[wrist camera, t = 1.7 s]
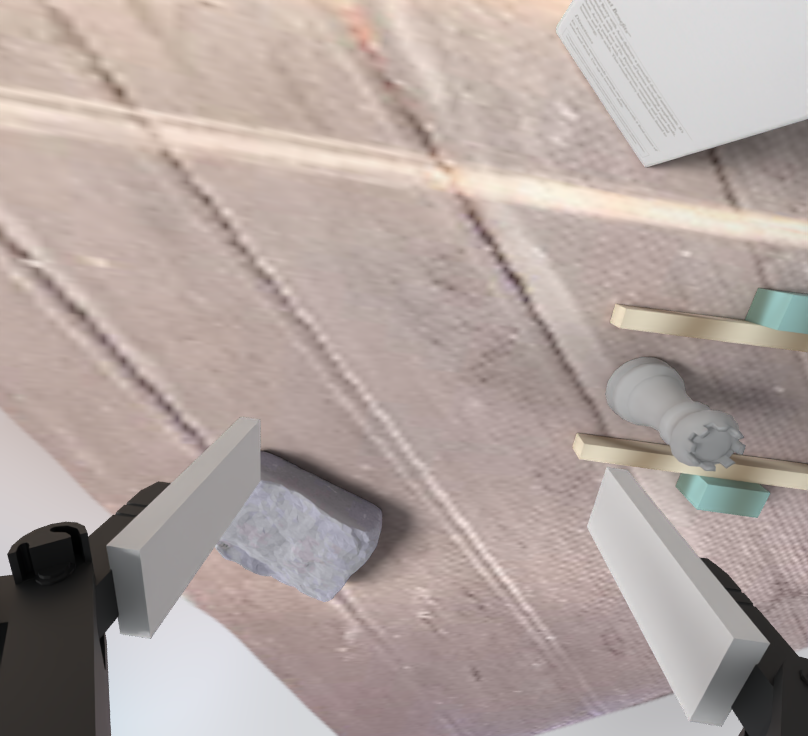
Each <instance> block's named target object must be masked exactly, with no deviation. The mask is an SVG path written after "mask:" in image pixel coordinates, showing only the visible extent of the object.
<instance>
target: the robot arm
mask: <svg viewBox="0 0 808 736" xmlns="http://www.w3.org/2000/svg"><path fill="white" fill-rule="evenodd" d="M260 481H261V479H260V419H254V418H247V417H240V418H239V419H238V420H237V421H236V422H235V423H234V424H233V425H231V426H230V427H229V428H228V429H227V430H226V431H225V432H224V433H223V434H222V435H221V436H220V437H219V438H218V439H217V440H216V441H215V442H214V443H213V444H212V445H211V446H210V447H209V448H207V449H206V450H205V451H204V452H203V453H202V454H201V455H200V456H199V457H198V458H197V459H196V460H195V461H194V462H193V463H192V464H191V465H190V466H189V467H188V468H187V469H186V470H185V471H183V472H182V473H181V474H180V475H179V476H178V477H177V478H176V479H175V480H174V481H173V482H172V483H166V482H157V483H155V484H153V485H151V486H149V487H147V488H145V489H143V490H141V491H140V492H139V493H137V494H136V495H135V496H134V497H133V498H132V499H131V500H130V501H128V502H127V505H124V506H123V507H122V508H120V509H119V510H118V511H117V512H116V514H115V515H113V516H111V517H110V518H109V519H108V520H107V521H106V522H105V523H103V524H102V525H101V526H100V527H99V528H98V529H97V530H96V531H94V532H93V533H92V534H91V535H90V536H89V537H88V533H87V530H86V529H85V526H83V525H81V524H78V523H75V522H61V523H56V524H50V525H47V526H44V527H41V528H39V529H36V530H34V531H32V532H30V533H29V534H27V535H25V536H23V537H22V538H20V539H19V540H18V541H17V542H16V543H15V544H13V545H12V547H11V549H10V550H9V552H8V554H7V555H8V559H9V563H10V566H11V570H12V574H13V575H7V576H0V736H111V726H110V704H109V683H108V664H107V663H108V662H107V641H106V635H105V632H106V631H107V629H108V628H109V627H110V626H111V625H112V623H113V622H114V621H115V620H116V618H117V617H118V622H119V628H120V634H123V635H129V636H135V637H142V638H149V639H151V638H152V636H153V634H154V633H155V632H156V630H157V629H158V627H159V626H160V625H161V623H162V622H163V620H164V619H165V617H166V616H167V615H168V613H169V612H170V610H171V608H172V607H173V606H174V605H175V603H176V601H177V600H178V599H179V597H180V596H181V594H182V593H183V592H184V590H185V589H186V587H187V586H188V584H189V583H190V581H191V580H192V579H193V577H194V576H195V574H196V573H197V571H198V570H199V569H200V567H201V566H202V564H203V563H204V561H205V560H206V558H207V557H208V556H209V554H210V553H211V551H212V550H213V548H214V547H215V545H216V544H217V543H218V541H219V540H220V538H221V537H222V535H223V534H224V533H225V531H226V530H227V528H228V527H229V525H230V524H231V522H232V521H233V520H234V518H235V517H236V515H237V514H238V512H239V511H240V509H241V508H242V507H243V505H244V504H245V502H246V501H247V499H248V498H249V497H250V495H251V494H252V492H253V491H254V489H255V488H256V486H257V485H258V484H259V482H260ZM587 528H588V530H589V532H590V534H591V535H592V537H593V539H594V541H595V543H596V545H597V547H598V549H599V551H600V553H601V555H602V556H603V558H604V560H605V562H606V564H607V566H608V568H609V570H610V572H611V574H612V575H613V577H614V579H615V581H616V583H617V585H618V587H619V589H620V591H621V593H622V595H623V596H624V598H625V600H626V602H627V604H628V606H629V608H630V610H631V612H632V614H633V615H634V617H635V619H636V621H637V623H638V625H639V627H640V629H641V631H642V633H643V635H644V636H645V638H646V640H647V642H648V644H649V646H650V648H651V650H652V652H653V654H654V655H655V657H656V659H657V661H658V663H659V665H660V667H661V669H662V671H663V673H664V674H665V676H666V678H667V680H668V682H669V684H670V686H671V688H672V690H673V692H674V694H675V695H676V697H677V699H678V701H679V703H680V705H681V707H682V709H683V710H684V713H685V714H686V716H687V718H688V720H689V721H690V722H696V723H703V724H709V725H716V726H722V725H723V724H724V722H725V720H726V718H727V717H728V715H729V713H730V712H731V710H733V711H734V713H735V714H736V716H737V717H738V719H739V720H740V722H741V723H742V725H743V729H742V731H741V732H740V734H739V736H808V659H807V658H803V657H799V656H798V655H797V654H796V653H795V652H794V650H793V649H792V648H791V647H790V646H789V645H788V643H787V642H786V641H785V640H784V639H783V638H782V636H781V635H780V634H779V633H778V632H777V631H776V630H775V628H774V627H773V626H772V625H771V624H770V623H769V621H768V620H767V619H766V618H765V617H764V616H763V614H762V613H761V612H760V611H759V610H758V609H757V608H756V607H754V606H753V603H752V602H751V601H750V599H749V598H748V597H747V596H746V595H745V594H744V593H742V592H741V589H740V588H739V587H738V586H737V584H736V583H735V582H734V581H733V580H732V579H731V577H730V576H729V575H728V574H727V573H726V572H724V571H723V570H722V569H721V568H719V567H718V566H717V565H716V564H714V563H713V562H712V561H710V560H709V559H707V558H700V557H699V556H698V555H697V554H696V553H695V552H694V550H693V549H692V548H691V547H690V545H689V544H688V543H687V542H686V541H685V539H684V538H683V537H682V536H681V534H680V533H679V532H678V531H677V530H676V528H675V527H674V526H673V525H672V524H671V522H670V521H669V520H668V519H667V517H666V516H665V515H664V514H663V513H662V511H661V510H660V509H659V508H658V507H657V505H656V504H655V503H654V502H653V500H652V499H651V498H650V497H649V496H648V494H647V493H646V492H645V491H644V489H643V488H642V487H641V486H640V485H639V483H638V482H637V481H636V480H635V479H634V477H633V476H632V475H631V474H630V472H629V471H628V470H625V469H617V468H610V467H607V468H606V471H605V474H604V477H603V480H602V483H601V486H600V489H599V492H598V495H597V498H596V501H595V504H594V507H593V510H592V513H591V516H590V519H589V522H588V525H587Z"/></svg>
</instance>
